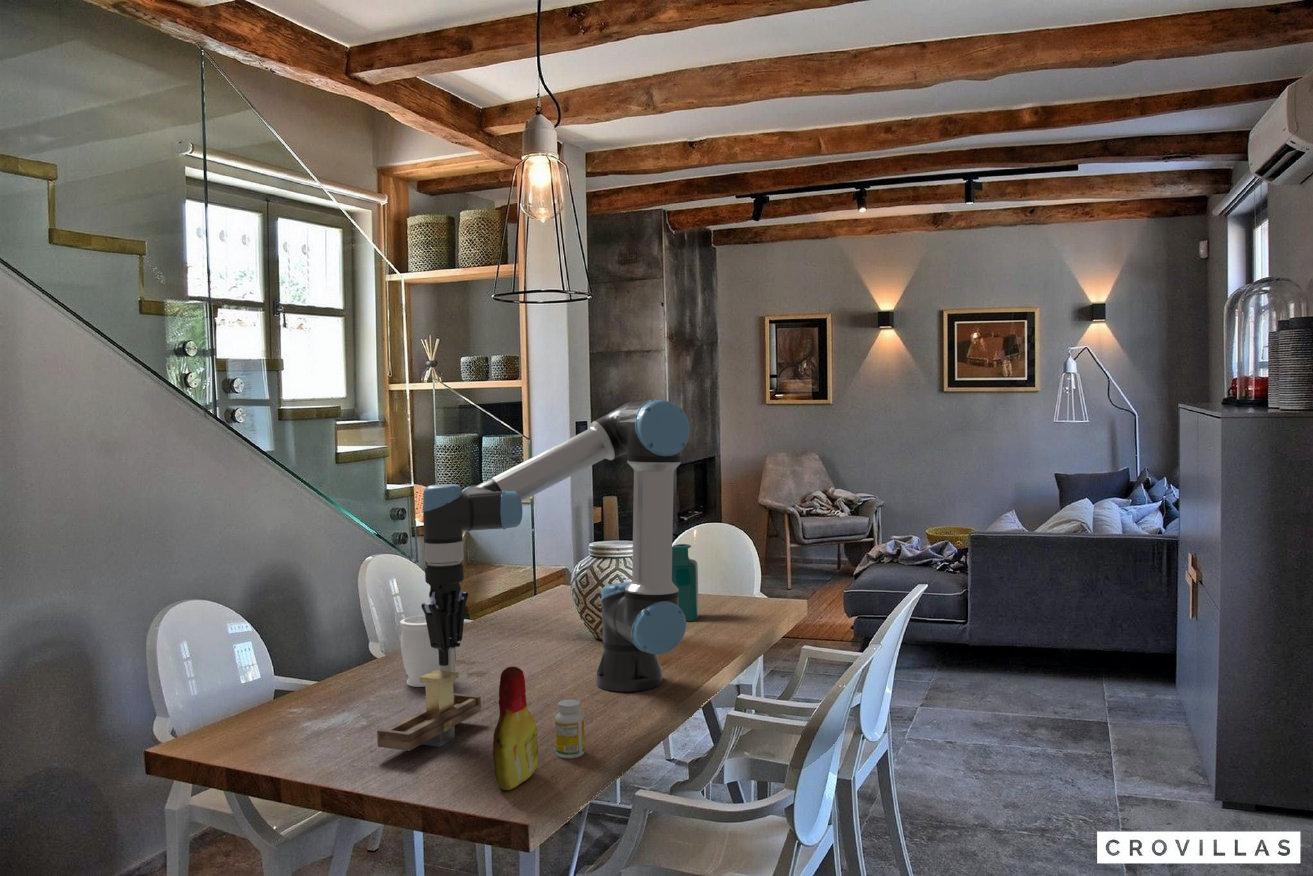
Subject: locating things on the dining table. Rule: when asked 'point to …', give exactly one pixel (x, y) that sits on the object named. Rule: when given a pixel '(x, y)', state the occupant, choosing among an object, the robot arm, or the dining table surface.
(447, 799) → the dining table surface
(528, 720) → the bottle
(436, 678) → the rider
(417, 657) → the jar
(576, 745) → the supplement bottle
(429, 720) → the brown long rectangular frame
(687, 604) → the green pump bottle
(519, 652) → the dining table surface
